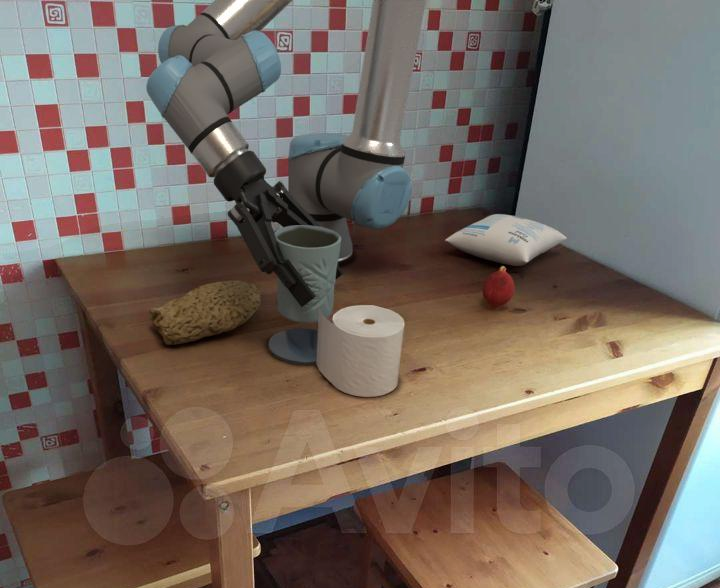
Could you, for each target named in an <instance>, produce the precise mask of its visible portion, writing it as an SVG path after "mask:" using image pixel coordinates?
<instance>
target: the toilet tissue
mask: <svg viewBox="0 0 720 588" xmlns="http://www.w3.org/2000/svg"><path fill="white" fill-rule="evenodd" d="M318 312H319V317H318V322H317V323H318V324H317V330H318V339H317V361H316V364H315V365H316V366H317V369H318V371H319V372H320V373H321V374H322V376H323V377H325V378H326V380H327V381H328V382H329V383H331V384H332V386H334V388H335V389H337V390H339V391H341V392H343V393H345V394H348V395H351V396H355V397H363V398H372V397H379V396H384V395H387V394H389V393H391V392H392V391H394V390H395V389H396V388H397V386H398V383H399V376H400V365H401V359H402V358H401V357H402V348H403V342H404V333H405V323H406V322H405V320H404V318H403V317H402V316H401V315H400V314H399V313H398V312H395V311H394V310H391V309H388V308H386V307H385V308H384V307H381V306H378V305H373V304H365V305H362V304H360V305H359V304H358V305H351V306H350V305H349V306H346V307H343V308H340V309H339V310H337V311H335V313H333V314H332V321H330V320H329V318H326V317H325V316H324V315H323V314H322V313H321V311H320V310H319V311H318Z"/></svg>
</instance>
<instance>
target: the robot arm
mask: <svg viewBox="0 0 720 588" xmlns="http://www.w3.org/2000/svg"><path fill="white" fill-rule="evenodd" d="M293 1H294V0H213V1H212V2H211V3H210V4H209V5H208V6H206V8H204V10H203V11H202V12H200V13H199V14H198V15H197V16H196V17H195V18H194V19H193V20H191V21H190V22H189V23H188V24H187V25H185V24H178V25H177V24H175V25H171V26H169V27H167V28H166V29H165V30H164V31H163V32H162V33H161V35H160V37H159V40H158V44H157V46H158V47H157V54H158V58H159V61H160V64H159V65H158V66H157V67H156V68H155V69H154V70H153V71H152V72H151V74H149V76H148V78H147V81H146V85H145V89H146V93H147V95H148V96H149V98H150V100H151V103H153V105H154V106H155V109H157V111H158V112H159V114H160V116H161V117H162V118H163V119H164V121H166V123H167V124H168V125H169V126H170V128H171V129H172V130H173V132H174V133H175V135H177V136H178V138H179V139H180V140H181V142H182V143H183V144H184V146H185V147H186V148H187V149H188V151H189V153H190V154H191V155H192V156H193V158H194V159H195V161H196V162H197V163H198V164H199V166H200V167H201V169H202V170H203V172H205V174H206V175H207V177H208V178H213V185H214V186H215V188H216V189H217V190H218V192H219V193H220V195H221V196H222V198H223V199H224V200H225V201H226V202H230V203H231V202H233V201H234V202H235V204H234V206H232V207H231V208H230V209H229V210H228V211H227V216H228V218H229V219H230V220H231V222H233V224H234V225H235V227H236V228H237V230H238V231H239V234H240V235H241V237H242V239H243V240H244V243H245V245H246V246H247V248H248V250H249V252H250V254H251V256H252V258H253V260H254V261H255V263H256V265H257V267H258V269H259V270H260V272H262V273H266V274H267V275H271V274H272V273H274V274H275V275H276V277H277V276H278V278H279V279H280V280H281V282H282V283H283V284H284V286H285V287H286V288H287V289H288V290H289V291H290V293H291V294H292V295H293V297H294V298H295V299H296V301H297V302H298V303H299V305H300V306H301V307H303V306H304V305H306V304H307V303H308V302H310V301H311V300H312V299H314V298H315V297H316V296H315V295H314V293H313V292H312V291H311V289H310V288H309V287H308V285H307V284H306V282H305V281H304V280H303V278H302V277H301V276H300V274H299V273H298V272H297V270H296V269H295V268H294V266H293V265H292V264H291V262H290V261H289V260H288V261H287V262H285V263H284V258H283V256H282V253H281V250H280V247H279V244H278V242H277V239H276V236H275V231H274V227H273V226H272V225H273V224H274V223H275V224H276V223H277V224H278V225H280V226H281V228H283V227H287V226H294V225H310V226H318V227H323V228H327V229H330V230H333V231H335V232H336V233H338V234H339V235H340V236H341V245H340V252H339V259H338V264H337V269H336V277H335V278H336V280H337V279H339V278H340V277H341V276H343V275H344V274H345V273H344V271H343V270H342V269H341V267H340V265H344V264H346V263H348V262H350V261H351V259H352V258H353V250H354V249H353V242H352V238H351V234H350V229H349V225H348V222H347V220H348V221H351V222H353V223H354V224H356V225H357V226H359V227H365V228H368V229H371V230H383V229H386V228H388V227H390V226H392V225H393V224H395V223H396V222H397V220H398V219H399V218H401V217H402V216H403V214H404V213H405V211H406V210H407V207H408V206H409V203H410V201H411V199H412V198H411V197H412V194H413V193H412V192H413V180H412V179H411V174H410V173H409V172H408V170H406V169H405V168H404V164H405V160H406V151H405V149H404V148H403V147H402V145H401V141H400V140H401V136H402V135H401V134H402V129H403V125H404V120H405V114H406V109H407V104H408V98H409V93H410V87H411V83H412V79H413V71H414V67H415V61H416V55H417V50H418V46H419V40H420V35H421V29H422V24H423V19H424V13H425V8H426V3H427V0H372V5H371V11H370V17H369V24H368V30H367V35H366V36H367V37H366V43H365V47H364V56H363V61H362V68H361V74H360V81H359V87H358V94H357V98H356V99H357V100H356V105H355V112H354V119H353V125H352V131H351V132H350V134H349V135H347V134H343V133H336V132H335V133H334V132H316V133H315V132H314V133H305V134H300V135H296V136H294V137H293V138H292V139H291V140H290V143H289V150H288V151H289V152H288V156H287V160H288V167H287V168H288V171H287V172H288V176H287V178H288V180H287V181H288V182H287V183H288V187H286V186H285V185H284V183H283V182H282V181H280V180H278V182H277V183H275V184H274V185H273V186H272V185H270V183H268V182H267V181H266V180H265V175H266V173H267V168H266V166H265V165H264V164H263V163H262V161H261V159H260V158H259V157H258V156H257V154H256V153H255V152H254V150H253V151H252V150H249V147H250V144H249V143H248V141H247V140H246V139H245V137H244V136H243V135H242V133H241V132H240V130H239V129H238V128H237V127H236V126H235V124H234V122H233V121H232V119H231V118H230V117H229V114H231V113H232V112H233V111H235V110H236V109H238V108H240V107H241V106H243V105H244V104H246V103H248V102H249V101H251V100H252V99H254V98H255V97H257V96H259V95H260V94H262V93H265V92H266V90H267V89H269V88H270V87H271V86H272V85H273V84H275V83H276V82H277V81H278V80H279V79H280V76H281V74H282V62H281V60H280V56H279V52H278V49H277V48H276V46H275V45H274V43H273V42H272V41H271V39H270V38H269V37H268V36H267V35H266V34H265V33H264V32H262V30H263V29H264V28H265V27H266V26H267V25H268V24H269V23H271V21H273V20H274V19H275V18H276V17H277V16H278V15H279V14H280V13H281V12H282V11H283V10H284V9H286V7H288V6H289V5H290V4H291V3H292V2H293ZM272 223H273V224H272ZM355 229H356V228H355V225H352V235H355Z"/></svg>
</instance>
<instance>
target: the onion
mask: <svg viewBox="0 0 720 588" xmlns="http://www.w3.org/2000/svg"><path fill="white" fill-rule="evenodd" d="M506 270H507V268H506V266H504V265H501V266H500V268H499V269H498V270H497V271H495V272H492V273H491V274H490V275H489V276H488V277H487V278H486V279H485V281H484V283H483V286H482V296H483V298H484V300H485V301H486V303H487V304H488V305H489V306H490V307H492V309H498V308H501V307H503V306H505V305H506V304H508V303H509V302H510V301H511V300H512V299H513V298H514V294H515V283H514V280H513V277H512V276H511V275H510V274H509V273H508V272H507V271H506Z"/></svg>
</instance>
